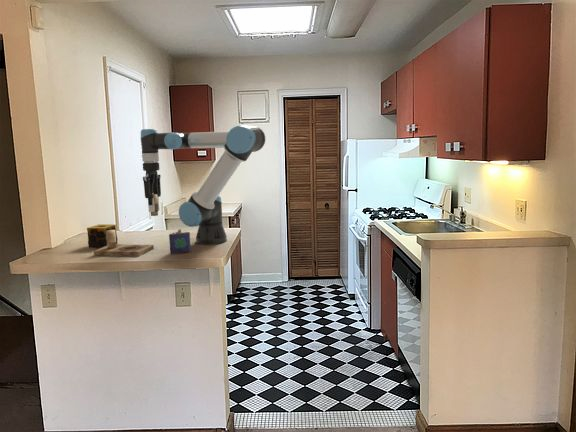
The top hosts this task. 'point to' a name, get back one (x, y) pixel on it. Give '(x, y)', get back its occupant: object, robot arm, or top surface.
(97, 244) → the black and yellow cube
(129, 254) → the seat board
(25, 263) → the top surface
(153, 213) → the oak leg
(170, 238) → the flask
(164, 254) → the top surface
